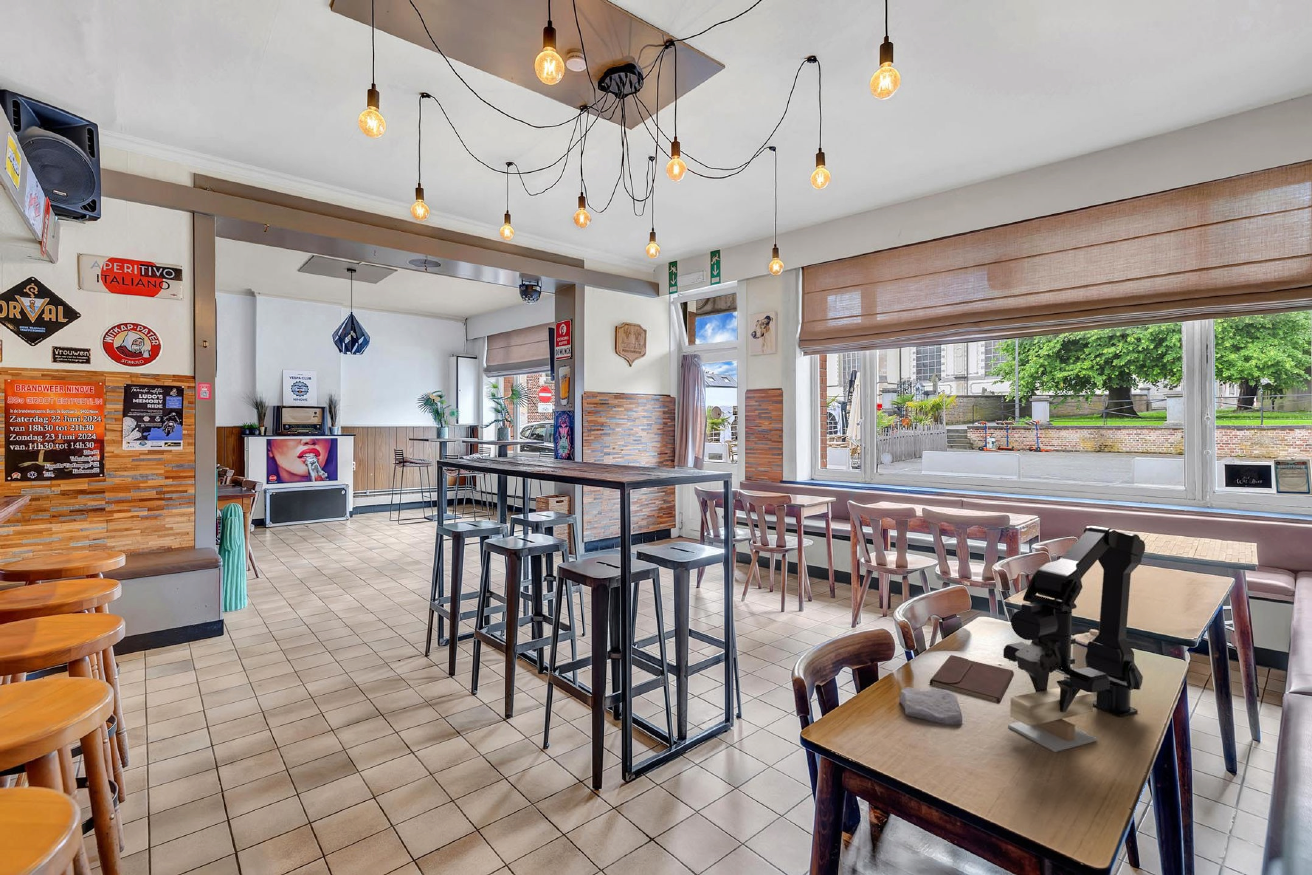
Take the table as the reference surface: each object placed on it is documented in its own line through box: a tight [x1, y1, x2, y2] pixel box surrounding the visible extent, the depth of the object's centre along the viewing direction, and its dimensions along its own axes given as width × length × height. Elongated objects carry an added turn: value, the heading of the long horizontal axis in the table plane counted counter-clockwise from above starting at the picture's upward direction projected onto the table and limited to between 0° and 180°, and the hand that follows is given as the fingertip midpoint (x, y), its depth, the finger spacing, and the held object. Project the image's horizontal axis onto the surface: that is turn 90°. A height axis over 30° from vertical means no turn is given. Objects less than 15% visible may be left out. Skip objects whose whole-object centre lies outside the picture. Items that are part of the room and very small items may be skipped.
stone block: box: [899, 686, 963, 726], centre depth 132 cm, size 12×5×10 cm
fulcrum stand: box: [1007, 718, 1097, 753], centre depth 123 cm, size 12×10×4 cm
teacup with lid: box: [1071, 628, 1099, 669], centre depth 153 cm, size 12×9×12 cm
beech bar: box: [1009, 687, 1094, 726], centre depth 123 cm, size 18×4×4 cm, turn 109°
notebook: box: [929, 654, 1015, 704], centre depth 149 cm, size 15×20×2 cm
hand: (1052, 706), depth 123 cm, fingers open, 4 cm apart
